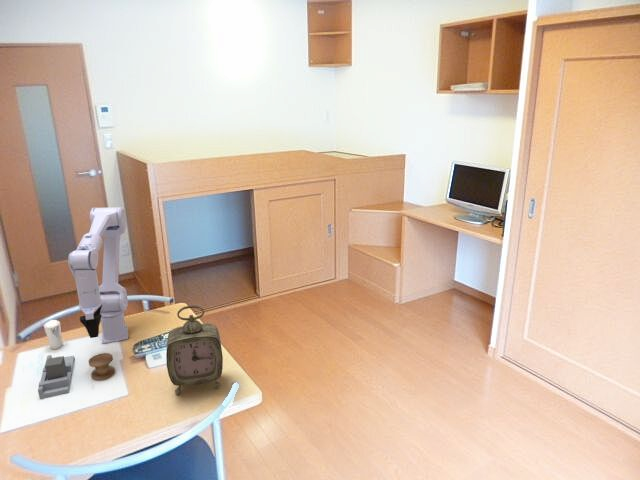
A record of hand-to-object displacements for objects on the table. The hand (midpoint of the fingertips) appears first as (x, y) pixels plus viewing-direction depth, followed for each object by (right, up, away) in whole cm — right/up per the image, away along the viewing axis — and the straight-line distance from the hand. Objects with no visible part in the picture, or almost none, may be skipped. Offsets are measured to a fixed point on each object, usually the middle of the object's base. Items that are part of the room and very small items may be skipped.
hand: (95, 331), depth 138 cm
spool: (+4, -12, -3) cm, 13 cm away
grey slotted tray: (-8, -13, -5) cm, 16 cm away
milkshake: (-18, -8, +11) cm, 23 cm away
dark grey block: (-7, -12, -8) cm, 16 cm away
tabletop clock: (+33, -14, -8) cm, 37 cm away
